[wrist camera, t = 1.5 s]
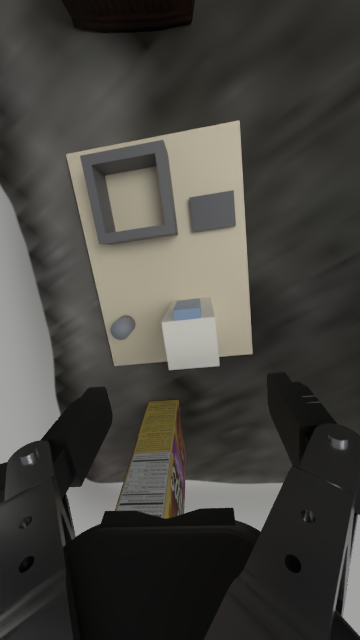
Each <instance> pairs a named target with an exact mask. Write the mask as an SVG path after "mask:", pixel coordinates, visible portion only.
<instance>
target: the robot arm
mask: <svg viewBox="0 0 360 640" xmlns="http://www.w3.org/2000/svg"><path fill="white" fill-rule="evenodd" d="M267 386H268V406H269V411H270V414H271V417H272V419H273V422H274V424H275V426H276V428H277V431H278V433H279V435H280V437H281V440H282V442H283V444H284V447H285V449H286V451H287V453H288V456H289V458H290V460H291V462H292V465H293V466H292V467H291V468H290V470H289V472H288V474H287V477H286V479H285V481H284V483H283V485H282V488H281V490H280V492H279V494H278V496H277V498H276V500H275V502H274V505H273V507H272V509H271V511H270V513H269V515H268V518H267V520H266V522H265V524H264V526H263V528H262V531H261V532H260V531H259V530H257V529H255V528H253V527H252V526H249V525H247V524H245V523H242V522H239V521H236V520H235V518H234V510H233V508H210V509H198V510H195V511H191V512H188V513H185V514H181V515H178V516H175V517H172V518H166V519H165V518H161V517H157V516H154V515H150V514H146V513H143V512H139V511H136V510H131V511H105V513H104V516H103V519H102V522H101V524H99V525H97V526H94V527H92V528H90V529H88V530H86V531H85V532H83V533H81V534H80V535H78V536H77V537H76V536H75V531H74V526H73V522H72V517H71V512H70V507H69V502H68V498H67V495H66V492H67V490H68V488H69V487H80V486H82V483H83V482H84V479H85V477H86V475H87V473H88V471H89V469H90V467H91V465H92V463H93V461H94V459H95V457H96V455H97V453H98V451H99V449H100V447H101V445H102V443H103V441H104V439H105V437H106V435H107V433H108V430H109V428H110V426H111V424H112V410H111V406H110V402H109V398H108V394H107V390H106V388H105V387H104V386H102V387H90V388H88V389H87V390H86V391H85V393H84V394H83V395H82V397H81V398H78V399H77V400H76V401H74V402H73V403H71V404H70V405H69V406H68V407H67V409H66V410H65V411H64V412H63V414H62V415H61V416H60V417H59V418H58V420H57V421H56V422H55V423H54V424H53V426H52V427H51V428H50V429H49V430H48V432H47V433H46V434H45V435H44V437H43V438H42V439H41V440H40V441H35V442H32V443H29V444H27V445H25V446H23V447H22V448H20V449H19V450H17V451H16V452H15V453H14V454H13V455H12V456H11V457H10V459H9V460H8V462H6V463H3V464H0V640H360V636H359V635H358V634H357V633H356V632H355V631H354V630H353V629H352V627H351V626H350V625H349V624H348V623H347V622H346V621H345V620H344V618H343V611H344V604H345V597H346V590H347V582H348V574H349V567H350V561H351V555H352V548H353V542H354V536H355V530H356V523H357V518H358V514H360V436H359V435H358V434H357V433H355V432H354V431H353V430H351V429H349V428H347V427H344V426H342V425H338V424H337V423H336V422H335V420H334V419H333V418H332V417H331V415H330V414H329V413H328V412H327V410H326V409H325V408H324V407H323V405H322V404H321V403H320V402H319V400H318V399H317V398H316V397H315V396H314V394H313V393H312V392H311V390H310V389H309V388H308V387H306V386H305V385H303V384H301V383H300V382H292V381H291V380H290V379H289V377H288V376H287V374H286V373H285V372H278V373H268V375H267Z"/></svg>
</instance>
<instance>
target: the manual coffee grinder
mask: <svg viewBox="0 0 360 640" xmlns="http://www.w3.org/2000/svg"><path fill="white" fill-rule="evenodd" d="M62 2H63V3H64V5H65V7H66V9H67V11H68V12H69V14H70V16H71V18H72V21H73V24H74V27H75V28H79V29H86V30H93V31H100V32H128V31H154V30H162V29H167V28H171V27H175V26H180V25H184V24H188V23H191V22H192V17H193V9H194V2H195V0H62Z"/></svg>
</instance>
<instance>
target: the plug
mask: <svg viewBox="0 0 360 640" xmlns="http://www.w3.org/2000/svg"><path fill="white" fill-rule="evenodd" d="M161 323H162V330H163V336H164V342H165V348H166V354H167V361H168V367H169V370H178V369H190V368H202V367H214V366H220V364H219V354H218V344H217V333H216V323H215V315H214V311H213V306H212V302H211V297H210V296H208V297H199V298H191V299H182V300H174V301H172V303H171V305H170V307H169V309H168V311H167V312H166V314H165V316H164V318H163V320H162V322H161Z"/></svg>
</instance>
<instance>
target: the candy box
mask: <svg viewBox="0 0 360 640" xmlns="http://www.w3.org/2000/svg"><path fill="white" fill-rule="evenodd" d="M185 472H186V451H185V445H184V438H183V431H182V423H181V415H180V408H179V400H163V401H149V403H148V406H147V409H146V412H145V415H144V419H143V422H142V425H141V428H140V431H139V434H138V438H137V441H136V444H135V447H134V451H133V454H132V457H131V460H130V463H129V466H128V470H127V473H126V476H125V480H124V483H123V486H122V489H121V493H120V496H119V499H118V502H117V505H116V509H115V511H131V510H136V511H139V512H143V513H146V514H150V515H154V516H157V517H161V518H165V519H166V518H172V517H175V516H178V515H181V514H184V499H185Z"/></svg>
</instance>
